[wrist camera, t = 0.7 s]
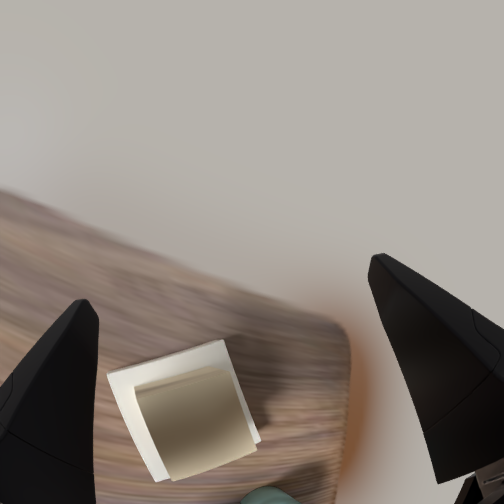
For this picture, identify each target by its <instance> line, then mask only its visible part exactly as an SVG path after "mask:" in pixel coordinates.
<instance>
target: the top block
mask: <svg viewBox="0 0 504 504" xmlns="http://www.w3.org/2000/svg"><path fill="white" fill-rule="evenodd" d="M134 391H135V396H136V400H137V403H138V405H139V408H140V411H141V413H142V416H143V418H144V421H145V423H146V426H147V428H148V431H149V433H150V435H151V438H152V440H153V442H154V445H155V447H156V449H157V451H158V453H159V456H160V458H161V460H162V462H163V464H164V466H165V468H166V470H167V472H168V474H169V476H170V478H171V480H172V482H173V481H177V480H180V479H183V478H187V477H190V476H193V475H196V474H199V473H202V472H205V471H208V470H210V469H213V468H216V467H218V466H221V465H224V464H226V463H229V462H231V461H234V460H236V459H239V458H241V457H243V456H246V455H248V454H250V453H252V452H255V451H257V448H256V445H255V443H254V440H253V437H252V435H251V432H250V429H249V426H248V424H247V421H246V418H245V415H244V412H243V409H242V407H241V404H240V401H239V398H238V395H237V392H236V389H235V386H234V383H233V380H232V377H231V374H230V371H226V370H222V369H218V368H214V367H210V366H207V367H203V368H200V369H197V370H194V371H190V372H187V373H183V374H180V375H176V376H173V377H169V378H166V379H162V380H158V381H155V382H151V383H147V384H143V385H139V386H135V387H134Z"/></svg>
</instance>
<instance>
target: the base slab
mask: <svg viewBox="0 0 504 504" xmlns="http://www.w3.org/2000/svg"><path fill="white" fill-rule="evenodd" d="M207 366H210V367H214V368H218V369H222V370H226V371H230V374H231V377H232V380H233V383H234V386H235V389H236V392H237V395H238V398H239V401H240V404H241V407H242V409H243V412H244V415H245V418H246V421H247V424H248V426H249V429H250V432H251V435H252V437H253V440H254V443H255V444H256V443H258V442H260V441H261V439H260V437H259V434H258V432H257V429H256V427H255V424H254V422H253V419H252V417H251V414H250V411H249V409H248V406H247V404H246V401H245V398H244V396H243V393H242V390H241V388H240V385H239V382H238V379H237V377H236V374H235V371H234V368H233V366H232V363H231V360H230V357H229V354H228V351H227V349H226V346H225V343H224V340H214V341H211V342H208V343H204V344H201V345H198V346H195V347H192V348H189V349H186V350H182V351H179V352H176V353H173V354H169V355H166V356H163V357H159V358H156V359H152V360H149V361H145V362H142V363H138V364H135V365H131V366H127V367H123V368H120V369H116V370H112V371H108V373H107V377H108V380H109V383H110V385H111V388H112V391H113V393H114V396H115V399H116V401H117V404H118V406H119V409H120V411H121V413H122V416H123V418H124V420H125V423H126V425H127V427H128V429H129V432H130V434H131V436H132V438H133V440H134V442H135V444H136V446H137V448H138V450H139V452H140V454H141V456H142V458H143V460H144V462H145V464H146V466H147V468H148V469H149V471H150V473H151V475H152V477H153V478H154V480H155V482H158V481H161V480H165V479H168V478H170V476H169V474H168V472H167V470H166V468H165V466H164V464H163V462H162V460H161V458H160V456H159V453H158V451H157V449H156V447H155V445H154V442H153V440H152V438H151V435H150V433H149V431H148V428H147V426H146V423H145V421H144V418H143V416H142V413H141V411H140V408H139V405H138V403H137V400H136V396H135V391H134V387H135V386H139V385H143V384H147V383H151V382H155V381H158V380H162V379H166V378H169V377H173V376H176V375H180V374H183V373H187V372H190V371H194V370H197V369H200V368H203V367H207Z"/></svg>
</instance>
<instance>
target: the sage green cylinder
mask: <svg viewBox="0 0 504 504" xmlns="http://www.w3.org/2000/svg"><path fill="white" fill-rule="evenodd" d="M240 504H301V503H300V502H298V501H297V500H295V499H294V498H292V497H291V496H289V495H288V494H286V493H285V492H283V491H282V490H280V489H279V488H277V487H272V486H266V487H261V488H258V489H255V490H253V491H251V492H250V493H249V494H247V495H246V496H245V497H244V498H243V499H242V501H241V502H240Z"/></svg>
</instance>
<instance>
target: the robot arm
mask: <svg viewBox="0 0 504 504" xmlns="http://www.w3.org/2000/svg"><path fill="white" fill-rule="evenodd" d="M368 282H369V285H370V288H371V291H372V294H373V297H374V300H375V303H376V306H377V309H378V312H379V316H380V319H381V321H382V324H383V327H384V329H385V331H386V333H387V336H388V338H389V341H390V343H391V346H392V348H393V351H394V353H395V355H396V358H397V361H398V363H399V366H400V368H401V371H402V373H403V376H404V379H405V381H406V384H407V387H408V389H409V392H410V395H411V398H412V401H413V403H414V406H415V409H416V412H417V415H418V418H419V421H420V424H421V427H422V431H423V432H424V433H423V434H424V438H425V441H426V444H427V448H428V451H429V455H430V458H431V462H432V465H433V469H434V473H435V477H436V481H437V483H438V484H441V483H444V482H447V481H450V480H453V479H456V478H458V477H461V476H464V475H466V474H469V473H471V472H474V471H475V473H474V474H473V475H471V476H470V477H468V478H466V479H465V482H464V484H463V486H462V488H461V491H460V493H459V495H458V497H457V499H456V501H455V503H454V504H504V329H503V328H501V327H500V326H498V325H496V324H495V323H493V322H492V321H490V320H489V319H487V318H486V317H484V316H483V315H481V314H480V313H478V312H477V311H475V310H474V309H471V307H470V306H468V305H466V304H465V303H463V302H462V301H461V300H459V299H458V298H456V297H454V296H453V295H451V294H450V293H449V292H447V291H445V290H444V289H442V288H441V287H439V286H438V285H436V284H435V283H433V282H431V281H430V280H428V279H427V278H425V277H423V276H422V275H420V274H419V273H417V272H415V271H414V270H412V269H411V268H409V267H407V266H406V265H404V264H402V263H401V262H399V261H397V260H396V259H394V258H392V257H391V256H389V255H387V254H385V253H381V254H376V255H373V256H372V258H371V262H370V267H369V272H368ZM98 337H99V318H98V315H97V313H96V312H95V310H94V309H93V307H92V306H91V304H90V303H89V301H88V300H87V299H78V300H75V301H74V302H73V303H72V304H71V305H70V306H69V307H68V308H67V309H66V310H65V311H64V312H63V314H62V315H61V316H60V317H59V318H58V319H57V320H56V321H55V322H54V323H53V324H52V326H51V327H50V328H49V329H48V330H47V331H46V332H45V333H44V335H43V336H42V337H41V338H40V339H39V340H38V341H37V343H36V344H35V345H34V346H33V347H32V348H31V350H30V351H29V352H28V353H27V354H26V356H25V357H24V358H23V359H22V360H21V362H20V363H19V364H18V365H17V367H16V368H15V369H14V370H13V372H12V373H11V374H10V375H9V377H8V378H7V379H6V381H5V382H4V383H3V384H2V386H1V387H0V504H96V498H95V484H94V474H93V473H94V467H93V421H94V401H95V387H96V376H97V365H98Z"/></svg>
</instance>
